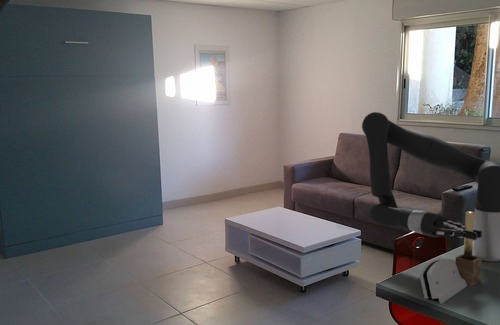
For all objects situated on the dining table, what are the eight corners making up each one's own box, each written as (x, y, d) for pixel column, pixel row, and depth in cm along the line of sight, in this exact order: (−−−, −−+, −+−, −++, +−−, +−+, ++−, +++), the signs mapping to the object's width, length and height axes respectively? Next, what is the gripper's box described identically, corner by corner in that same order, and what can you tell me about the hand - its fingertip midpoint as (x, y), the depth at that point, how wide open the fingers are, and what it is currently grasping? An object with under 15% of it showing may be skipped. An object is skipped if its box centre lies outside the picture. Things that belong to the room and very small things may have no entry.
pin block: (463, 275, 144) (464, 253, 143) (480, 281, 140) (481, 257, 139) (454, 280, 141) (455, 257, 140) (472, 286, 137) (473, 262, 136)
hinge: (441, 303, 126) (430, 268, 128) (425, 304, 130) (415, 269, 131) (467, 285, 137) (457, 253, 138) (452, 286, 141) (443, 254, 142)
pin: (465, 257, 141) (468, 210, 139) (473, 259, 139) (476, 212, 137) (461, 259, 140) (464, 212, 137) (469, 261, 138) (472, 213, 136)
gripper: (414, 216, 145) (468, 228, 131) (437, 208, 153) (490, 218, 140) (413, 238, 146) (466, 253, 132) (436, 229, 154) (489, 242, 141)
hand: (478, 235), depth 136 cm, fingers closed on pin, 2 cm apart
